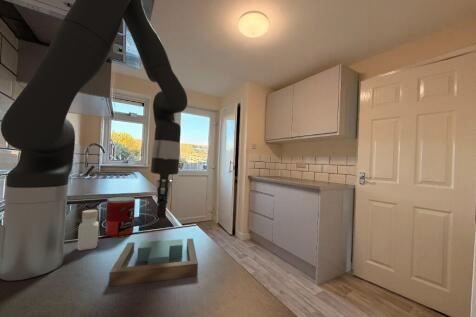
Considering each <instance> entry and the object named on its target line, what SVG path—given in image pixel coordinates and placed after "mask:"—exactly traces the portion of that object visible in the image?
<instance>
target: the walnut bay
mask: <svg viewBox="0 0 476 317" xmlns="http://www.w3.org/2000/svg"><path fill="white" fill-rule="evenodd" d="M135 244H136V243H135V242H127V243H126V245H125V246H124V248H123V250H122V252H121V253H120V255H119V256H118V258H117V260H116V261H115V263H114V264H113V266H112V267H111V269H110V271H109V272H108V273H109V275H108V287H115V286H123V285H124V286H125V285H132V284H133V285H134V284H139V283H140V284H141V283H148V282H157V281H167V280H173V279H184V278H190V277H191V278H192V277H197V276H198V275H199V273H198V272H199V271H198V269H199V267H198V266H199V263H198V262H199V261H198V257H197V253H196V247H195V243H194V238H187V239H186V251H187V252H186V254H187V261H185V260H184V261H175V262H169V263H163V264H153V265H148V264H145V265H134V266H133V265H132V266H128V265H129V263H130V261H131V260H132V257H133V256H134V253H135Z"/></svg>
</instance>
